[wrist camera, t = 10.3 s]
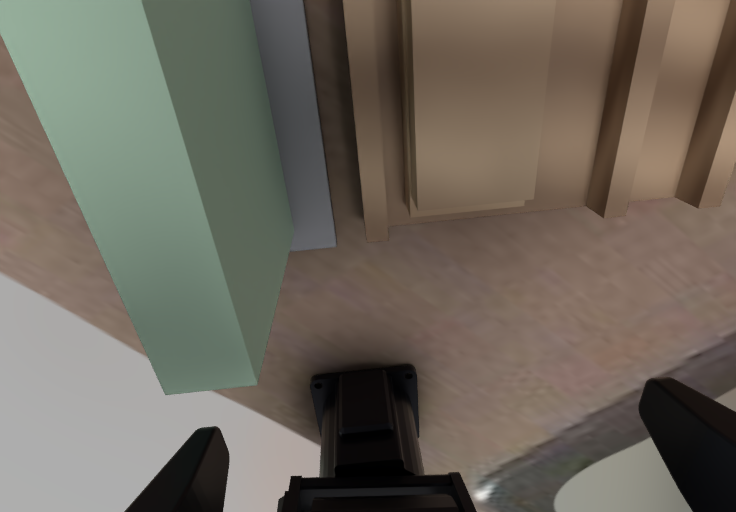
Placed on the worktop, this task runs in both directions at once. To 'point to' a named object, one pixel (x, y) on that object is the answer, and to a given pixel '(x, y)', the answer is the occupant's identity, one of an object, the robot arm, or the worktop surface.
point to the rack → (578, 108)
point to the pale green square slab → (167, 168)
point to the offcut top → (476, 98)
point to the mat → (296, 119)
